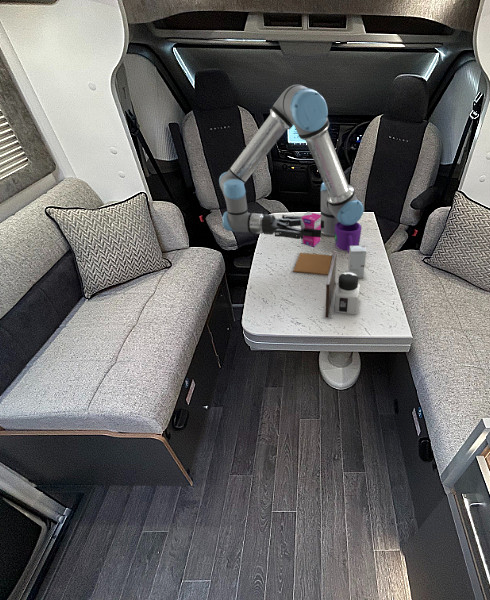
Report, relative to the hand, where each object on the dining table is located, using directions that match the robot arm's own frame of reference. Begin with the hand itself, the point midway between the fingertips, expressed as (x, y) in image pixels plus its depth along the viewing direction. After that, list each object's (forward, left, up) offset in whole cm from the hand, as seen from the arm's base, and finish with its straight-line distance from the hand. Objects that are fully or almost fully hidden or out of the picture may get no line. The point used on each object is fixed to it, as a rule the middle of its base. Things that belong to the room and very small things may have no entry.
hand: (322, 228), depth 129 cm
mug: (-16, +9, -17) cm, 25 cm away
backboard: (+20, +6, -17) cm, 27 cm away
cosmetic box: (+3, +14, -17) cm, 23 cm away
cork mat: (-2, -4, -17) cm, 18 cm away
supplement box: (0, -4, -7) cm, 8 cm away
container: (+23, +12, -17) cm, 32 cm away
